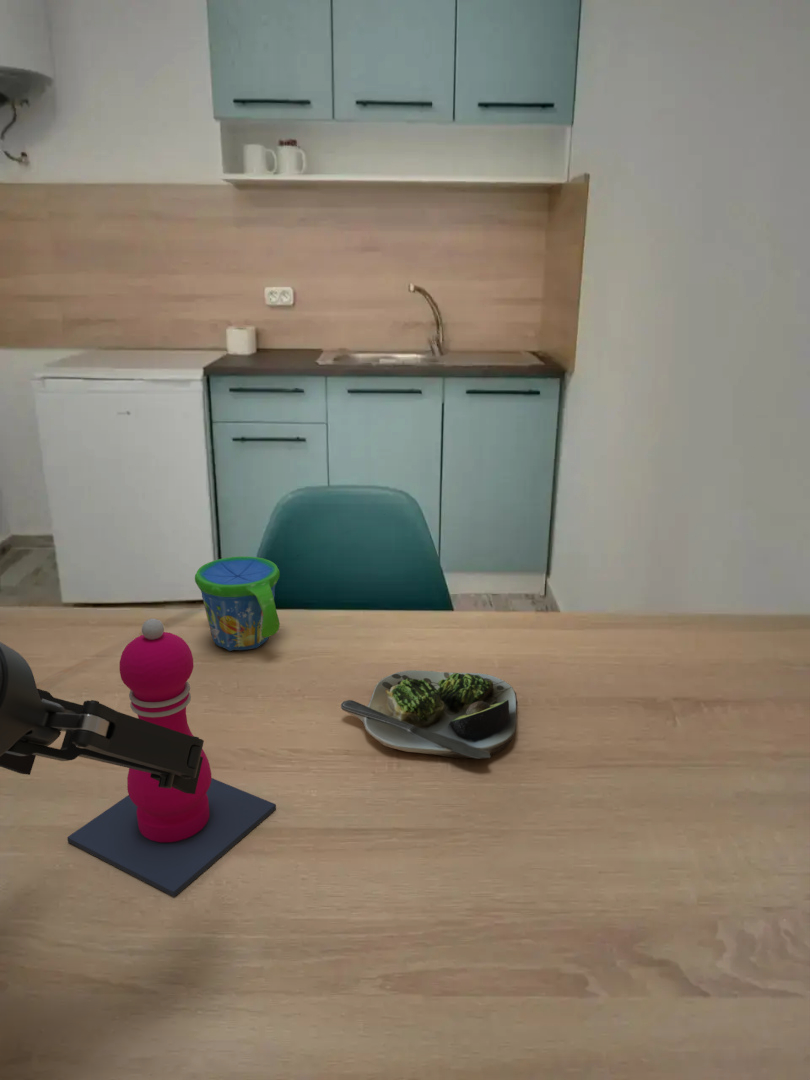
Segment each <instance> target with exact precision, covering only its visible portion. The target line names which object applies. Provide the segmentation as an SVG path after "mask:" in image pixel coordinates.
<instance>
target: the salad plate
mask: <svg viewBox="0 0 810 1080" xmlns="http://www.w3.org/2000/svg"><path fill="white" fill-rule="evenodd" d="M518 704H519V703H518V699H517V692H516V691H515V689H514V687H513V686H512V685H511V684H509V682H507V681H505V680H503V679H502V678H499V677H496V676H494V675H491V674H488V673H487V674H486V673H480V672H479V673H478V672H449V671H433V670H416V669H414V670H413V669H412V670H411V669H409V670H402V671H397V672H395V673H392V674H389V675H386V676H385V677H383V678H381V679H380V680H379V681H378V682H377V684H376V685H375V686H374V689H373V692H372V694H371V697H370V700H369V703H368V704H367V705H365V704H362V703H360V702H358V701H355V700H353V699H348V700H343V701H342V702H341V704H340V709H341V710H342V711H344V712H345V713H347V714H350V715H351V716H354V717H356V718H357V719H359V720H360V721H361V722H362V723H363V726H364V728H365V731H366V733H368V735H370V736H371V737H372V738H373V739H375V740H376V741H378V742H379V743H380V744H381V745H383V746H384V747H387V748H391V749H395V750H398V751H403V752H407V753H417V754H426V755H432V756H433V755H435V756H440V757H446V758H451V759H467V760H468V759H469V760H470V759H471V760H474V759H475V760H477V759H479V760H481V759H491V756H494V755H496V754H498V753H500V752H501V751H503V750H504V749H505V748H506V747H507V746H508V745H509V744H510V742H511V741H512V740H513V739H514V736H515V734H516V731H517V710H518Z"/></svg>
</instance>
